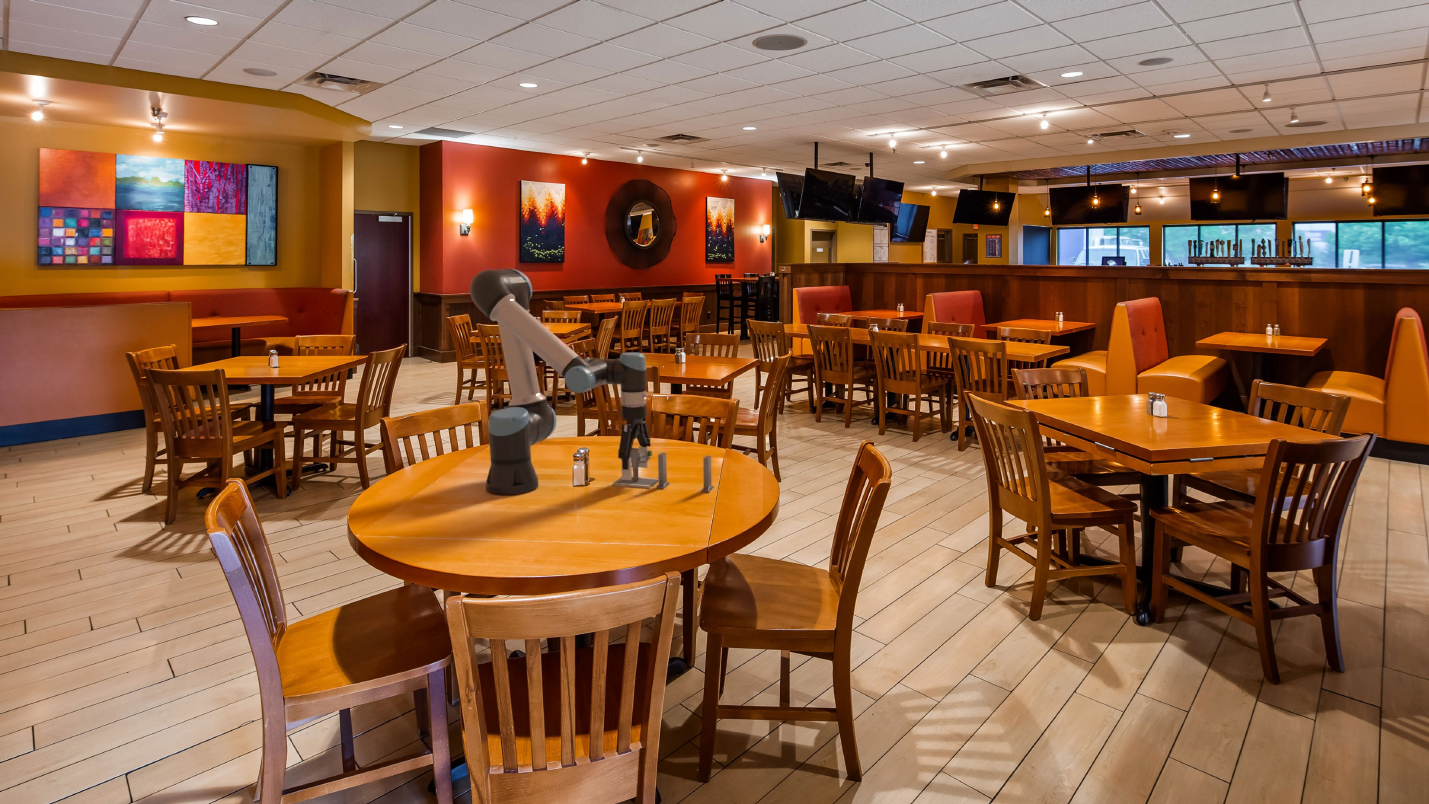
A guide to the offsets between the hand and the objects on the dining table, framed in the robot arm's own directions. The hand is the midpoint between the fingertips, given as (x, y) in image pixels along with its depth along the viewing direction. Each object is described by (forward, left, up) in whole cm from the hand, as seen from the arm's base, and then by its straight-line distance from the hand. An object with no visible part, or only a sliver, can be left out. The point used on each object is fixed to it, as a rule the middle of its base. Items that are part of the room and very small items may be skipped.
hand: (635, 473), depth 236 cm
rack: (+16, -1, -3) cm, 16 cm away
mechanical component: (0, 0, -3) cm, 3 cm away
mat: (0, 0, -3) cm, 3 cm away
